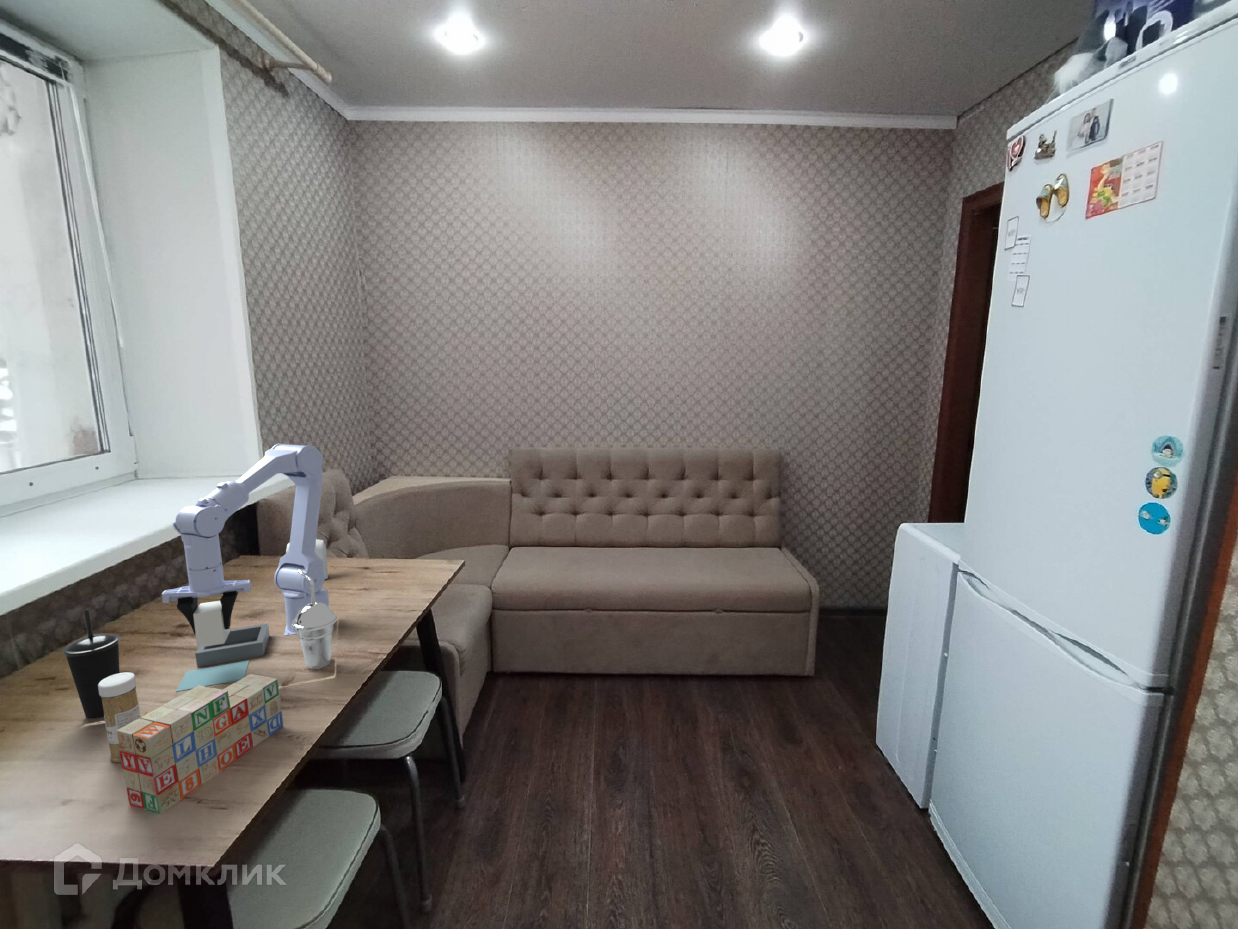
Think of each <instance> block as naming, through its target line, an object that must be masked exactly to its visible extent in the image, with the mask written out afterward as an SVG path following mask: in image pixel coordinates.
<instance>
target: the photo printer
mask: <svg viewBox="0 0 1238 929" xmlns="http://www.w3.org/2000/svg"><path fill="white" fill-rule="evenodd" d="M289 544H290V542H288V543H287V545H286V550H285V554H286V553H288V552H289ZM315 553H316V554H317V555H318V556H319V557H320V559H321V560H322V561H323V571H324V575H325V579H326V580H328V579H329V572H328V571H329V570H328V561H327V559H328V558H327V546H326V544H325V540H324V539H317V538H316V545H315ZM297 565H299V564H297Z"/></svg>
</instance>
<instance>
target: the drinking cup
mask: <svg viewBox="0 0 1238 929" xmlns="http://www.w3.org/2000/svg"><path fill="white" fill-rule="evenodd" d="M83 614H84V621H85V626H86V632H87V635H86V636H83V637H81V638H78V639H76V640H75V641H73V642H71V643H68V644H67V645H66V646H64V647H63V649H62V654H63V655H64V656H66V660H67V663H68V666H69V669H70V672H71V673H70V674H72V675H71V676H72V679H73V682H74V684H75V687H76V688H75V689H76V691H77V694H78V698H79V699H80V703H81V707H82V710H83V712H84V716H85V718H86V719H99V718H104V710H103V703H102V698H101V696H100V695H99V690H98V684H99V682H100V681H102V680H103V679H105V678H107V677H109V676H111V675H114V674H118V673H121V671H120V650H119V649H120V648H119V645H120V644H119V643H120V640H121V636H120V635H118V634H117V633H94V632H93V626H92V622H91V615H90V609H89V608H86V609H83Z"/></svg>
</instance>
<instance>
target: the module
mask: <svg viewBox="0 0 1238 929" xmlns="http://www.w3.org/2000/svg"><path fill="white" fill-rule="evenodd" d="M193 616H194V624H195V632H196V634H195V639H196V646H197V649H198V648H199V647H206V646H212V645H218V644H224V643H225V641H226V639H227V637H228V635H229V633H230V629H231V627H230V628H229V629H226V630H225V628H224V616H223V610H222V606H221V602H220V600H216V601H209V602H201V603H200V604H198V608H197V609H196V611H195V612H194V614H193Z"/></svg>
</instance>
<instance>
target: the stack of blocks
mask: <svg viewBox="0 0 1238 929" xmlns="http://www.w3.org/2000/svg"><path fill="white" fill-rule="evenodd" d="M281 700H282V698H281V694H280V690H279V682H278V679H277V678H274V677H269V676H263V675H257V674H254V673H253V674H252V673H249V674H247V675H246V676H244V678H242V679H241V680H238V681H235V682H233V683H232V684H230V685H228V686H227V687H225V688H222V689H220V688H215V687H209V686H206V687H204V686H200V685H198V686H197V687H195V688H193V689H190V690H186V692H184V693H182V694H181V695H179V696H176V697H175V698H173V699H171V700H170V701H168V702H166V703H165V704H162V705H161V706H159V707H157V708H156V709H154V710H152V711H150V712H149V713H146V714H144V715H142V716H141V718H140V719H137V720H135V721H133V722H131V723H129V724H128V725H126V726H124V727H122V728H120V729H119V730H117V735H118V740H119V745H120V750H119V752H120V758H121V762H120V763H121V766H122V767H121V768H122V770H123V775H124V780H125V781H124V782H125V786H126V788H125V789H126V792H127V800H128V804H129V806H132V807H135V808H139V809H143V810H146V811H150V812H153V813H156V814H159V815H161V814H162V813H164V812H165V811H167V810H168V809H169V808H171V807H173V806H174V805H175V804H177V803H178V802H179V801H181V800H182V799H184V798H186V797H187V796H188V795H189V794H192V793H193V792H195V790H197V789H199V788H200V787H202V785H204V784H205V783H207V782H208V781H209V780H211V779H212V778H214V777H216V776H217V775H218V774H219V773H220V772H221V771H223V770H224V769H226V768H227V767H228V766H230V765H231V764H233V763H234V762H235V761H237V760H238V759H239V758H241V757H242V756H244V755H245V754H246V753H248V752H249V751H251V750H252V749H253V748H255V747H257V746H258V745H260V744H261V743H262V742H264V741H265V740H266V739H268V738H269V737H271V736H272V735H273V734H275V733H276V732H277V731H279V730H280V729H282V728H283V727H284V721H283V719H284V718H283V713H282V712H283V711H282V701H281Z"/></svg>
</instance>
